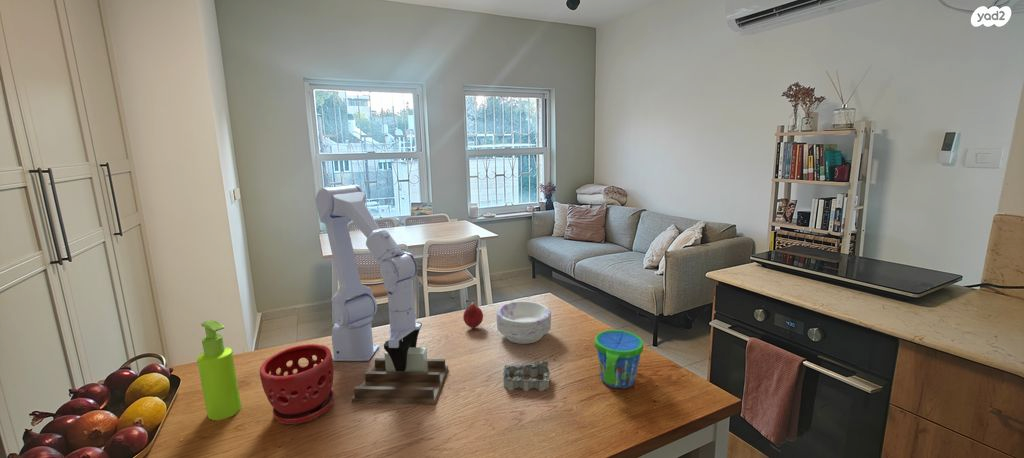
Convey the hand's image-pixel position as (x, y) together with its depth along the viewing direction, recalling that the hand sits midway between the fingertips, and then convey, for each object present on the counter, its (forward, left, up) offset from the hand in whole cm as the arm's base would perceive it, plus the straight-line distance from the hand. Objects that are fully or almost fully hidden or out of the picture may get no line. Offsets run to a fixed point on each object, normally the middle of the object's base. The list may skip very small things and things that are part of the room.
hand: (405, 361), depth 99 cm
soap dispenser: (-34, -14, -4) cm, 37 cm away
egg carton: (+28, -1, -5) cm, 29 cm away
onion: (+12, +27, -4) cm, 30 cm away
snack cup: (+49, 0, -4) cm, 49 cm away
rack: (0, -3, -4) cm, 5 cm away
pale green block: (0, 0, -3) cm, 3 cm away
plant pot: (-18, -13, -4) cm, 23 cm away
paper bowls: (+27, +22, -4) cm, 35 cm away
